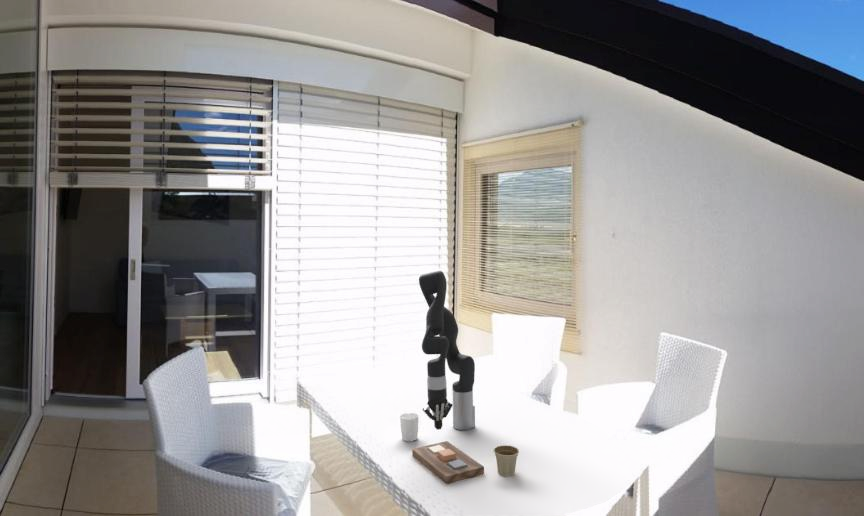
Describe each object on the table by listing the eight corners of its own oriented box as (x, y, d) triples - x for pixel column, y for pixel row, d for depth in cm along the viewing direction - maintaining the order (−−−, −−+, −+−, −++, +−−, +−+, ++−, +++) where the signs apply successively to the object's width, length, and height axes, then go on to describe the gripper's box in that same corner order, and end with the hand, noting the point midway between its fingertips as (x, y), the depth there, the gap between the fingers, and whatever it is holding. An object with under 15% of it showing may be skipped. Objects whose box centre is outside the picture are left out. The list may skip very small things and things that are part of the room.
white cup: (402, 443, 239) (402, 420, 238) (399, 436, 247) (398, 414, 246) (420, 440, 241) (420, 418, 241) (416, 434, 249) (415, 412, 248)
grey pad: (459, 467, 213) (459, 459, 213) (466, 472, 209) (466, 464, 209) (447, 470, 211) (447, 462, 211) (454, 475, 206) (454, 467, 206)
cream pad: (439, 452, 228) (439, 444, 227) (445, 456, 223) (445, 449, 223) (428, 454, 225) (428, 447, 225) (434, 459, 221) (434, 452, 220)
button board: (447, 447, 233) (447, 440, 233) (484, 474, 208) (484, 466, 208) (412, 456, 226) (412, 448, 225) (446, 484, 201) (446, 476, 201)
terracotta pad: (449, 456, 220) (449, 448, 220) (455, 461, 216) (455, 453, 216) (437, 458, 218) (437, 451, 218) (444, 464, 213) (444, 456, 213)
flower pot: (516, 466, 214) (516, 444, 214) (521, 478, 205) (521, 455, 204) (492, 467, 214) (491, 445, 213) (495, 479, 205) (495, 456, 204)
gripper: (446, 380, 228) (448, 422, 230) (417, 386, 222) (419, 429, 223) (456, 385, 222) (457, 428, 223) (426, 391, 215) (428, 435, 217)
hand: (438, 428), depth 223 cm, fingers closed
